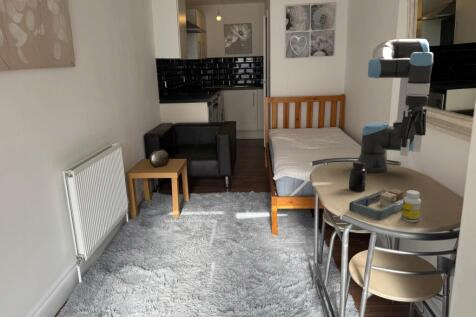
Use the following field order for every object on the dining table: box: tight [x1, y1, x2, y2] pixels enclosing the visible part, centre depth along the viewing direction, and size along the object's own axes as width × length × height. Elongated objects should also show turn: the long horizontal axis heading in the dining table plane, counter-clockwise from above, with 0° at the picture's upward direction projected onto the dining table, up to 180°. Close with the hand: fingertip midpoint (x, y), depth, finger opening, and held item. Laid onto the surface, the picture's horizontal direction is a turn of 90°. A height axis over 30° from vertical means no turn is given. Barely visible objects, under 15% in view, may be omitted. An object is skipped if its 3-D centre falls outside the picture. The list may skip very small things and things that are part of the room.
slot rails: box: [365, 189, 404, 215], centre depth 135 cm, size 14×12×2 cm
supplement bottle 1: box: [348, 160, 368, 193], centre depth 150 cm, size 7×7×12 cm
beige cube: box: [379, 191, 396, 207], centre depth 135 cm, size 4×4×4 cm
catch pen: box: [348, 195, 397, 221], centre depth 129 cm, size 11×12×3 cm
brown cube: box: [388, 188, 405, 202], centre depth 139 cm, size 4×4×4 cm
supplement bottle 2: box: [401, 189, 422, 223], centre depth 121 cm, size 5×5×10 cm
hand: (410, 153), depth 140 cm, fingers open, 9 cm apart
